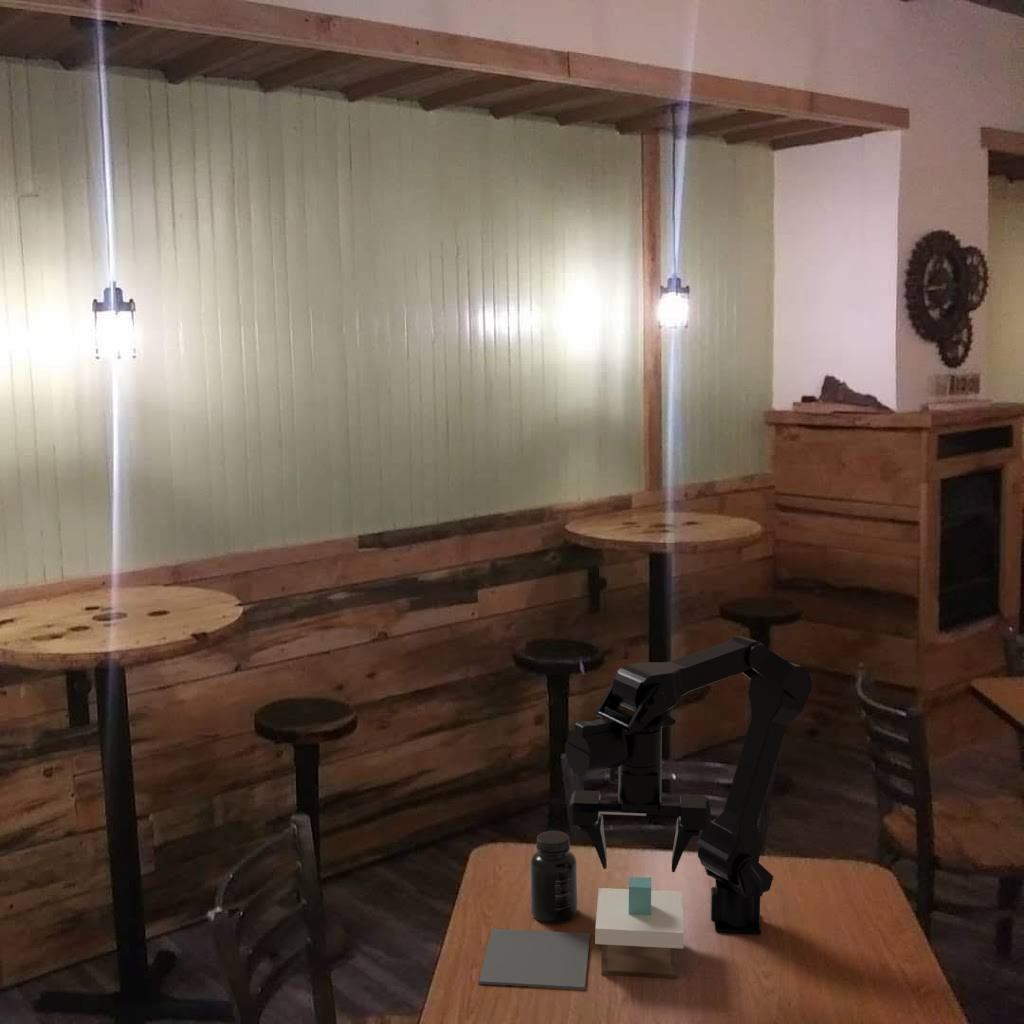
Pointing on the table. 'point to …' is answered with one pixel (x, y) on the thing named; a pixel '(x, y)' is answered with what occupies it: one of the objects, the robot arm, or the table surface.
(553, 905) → the supplement bottle
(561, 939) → the mat
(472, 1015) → the table surface
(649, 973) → the parts box
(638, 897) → the lid
